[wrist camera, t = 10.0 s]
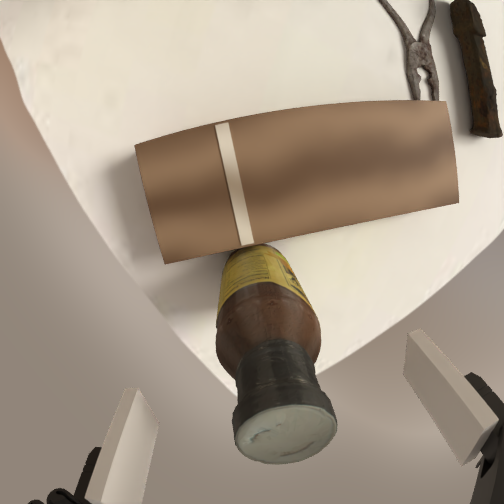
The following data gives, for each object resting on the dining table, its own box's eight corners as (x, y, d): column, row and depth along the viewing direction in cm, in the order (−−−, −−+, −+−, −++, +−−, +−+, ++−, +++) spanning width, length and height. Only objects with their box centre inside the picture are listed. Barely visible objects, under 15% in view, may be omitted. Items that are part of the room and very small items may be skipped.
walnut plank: (148, 147, 25) (133, 144, 21) (423, 106, 24) (446, 101, 20) (174, 250, 28) (164, 264, 24) (436, 197, 27) (459, 202, 23)
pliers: (420, -31, 18) (475, 105, 24) (417, -29, 19) (471, 106, 24) (357, -42, 18) (418, 107, 24) (354, -39, 19) (414, 109, 25)
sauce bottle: (287, 297, 30) (348, 471, 11) (224, 300, 29) (215, 484, 10) (288, 235, 28) (381, 378, 9) (220, 238, 27) (191, 396, 8)
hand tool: (485, 139, 26) (511, 140, 21) (466, 134, 25) (492, 134, 21) (462, 11, 20) (483, 1, 16) (441, 1, 20) (461, -11, 15)
